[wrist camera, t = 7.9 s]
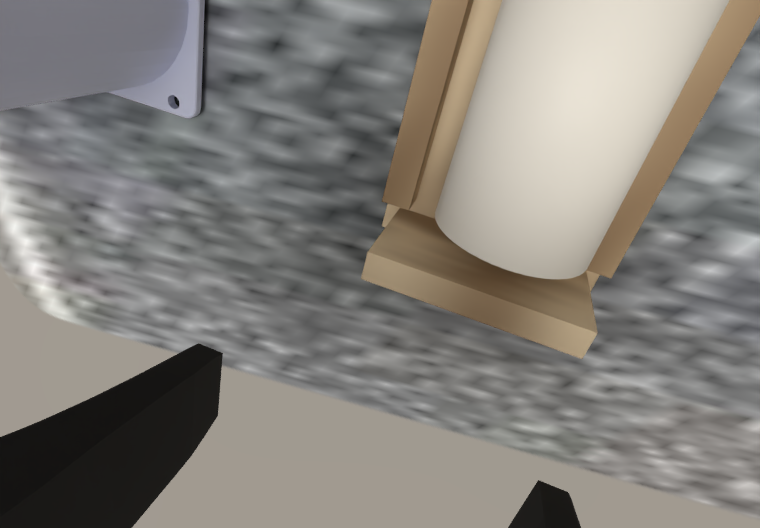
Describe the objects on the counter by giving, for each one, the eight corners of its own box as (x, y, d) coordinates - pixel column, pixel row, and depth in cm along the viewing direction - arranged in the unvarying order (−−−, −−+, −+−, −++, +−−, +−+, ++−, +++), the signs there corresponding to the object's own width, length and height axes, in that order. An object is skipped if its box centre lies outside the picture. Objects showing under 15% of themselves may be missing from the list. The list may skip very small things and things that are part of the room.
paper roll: (580, 238, 17) (588, 310, 13) (448, 194, 17) (415, 247, 13) (736, -71, 12) (829, -118, 8) (547, -114, 13) (544, -176, 9)
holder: (388, 217, 19) (346, 273, 15) (501, -213, 13) (481, -325, 9) (585, 283, 18) (599, 365, 14) (817, -149, 12) (974, -242, 8)
